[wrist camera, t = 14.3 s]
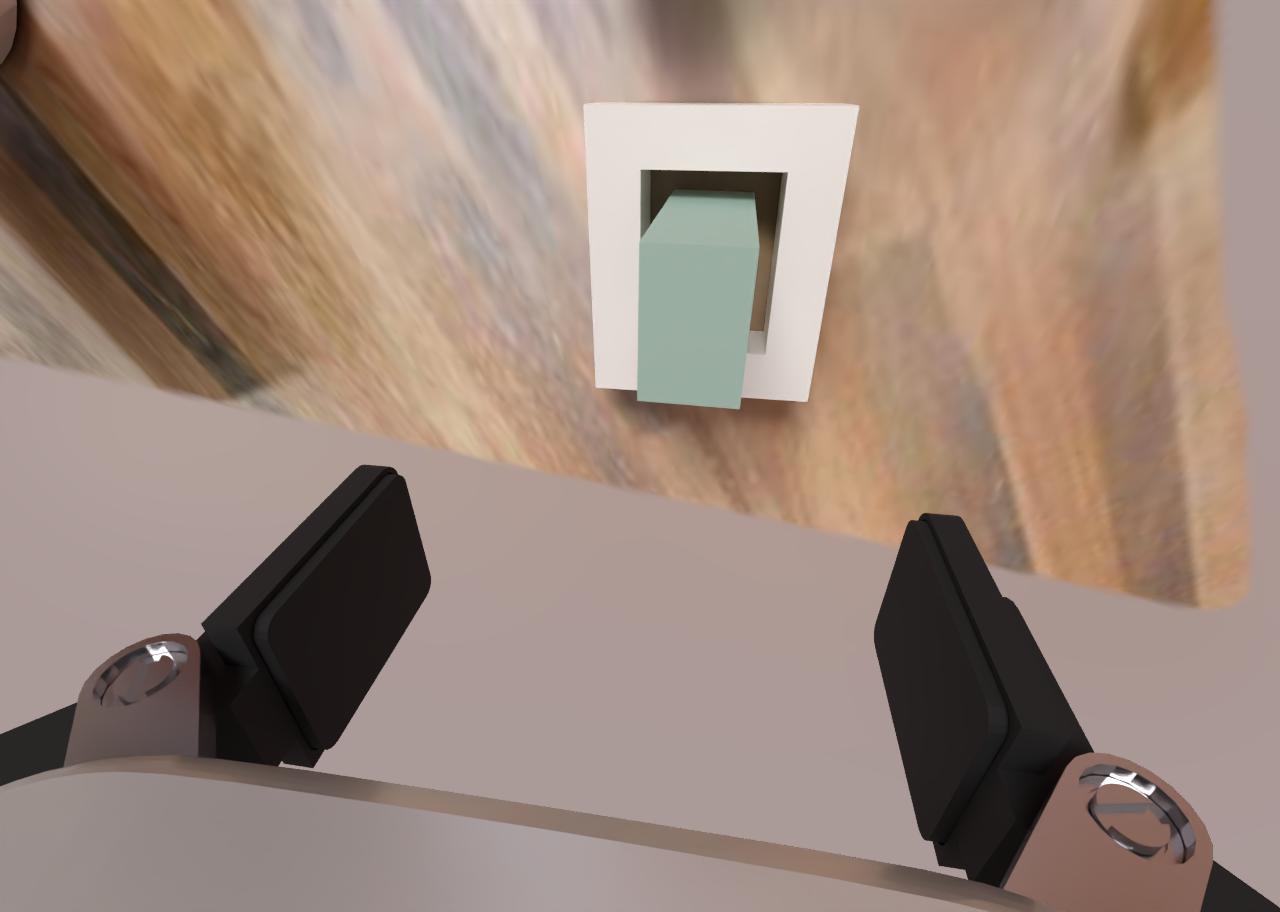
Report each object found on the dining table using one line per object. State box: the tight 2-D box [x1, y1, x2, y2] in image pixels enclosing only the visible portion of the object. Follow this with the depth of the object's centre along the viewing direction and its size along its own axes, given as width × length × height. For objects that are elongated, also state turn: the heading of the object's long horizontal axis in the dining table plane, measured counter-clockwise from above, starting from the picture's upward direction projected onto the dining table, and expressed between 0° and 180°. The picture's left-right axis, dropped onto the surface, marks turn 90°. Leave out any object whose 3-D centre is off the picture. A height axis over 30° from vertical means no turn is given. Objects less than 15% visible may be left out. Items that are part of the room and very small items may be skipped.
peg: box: [637, 189, 760, 409], centre depth 26 cm, size 4×6×12 cm, turn 179°
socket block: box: [583, 102, 859, 402], centre depth 29 cm, size 12×14×4 cm
